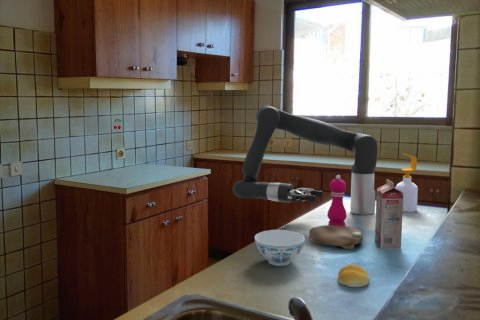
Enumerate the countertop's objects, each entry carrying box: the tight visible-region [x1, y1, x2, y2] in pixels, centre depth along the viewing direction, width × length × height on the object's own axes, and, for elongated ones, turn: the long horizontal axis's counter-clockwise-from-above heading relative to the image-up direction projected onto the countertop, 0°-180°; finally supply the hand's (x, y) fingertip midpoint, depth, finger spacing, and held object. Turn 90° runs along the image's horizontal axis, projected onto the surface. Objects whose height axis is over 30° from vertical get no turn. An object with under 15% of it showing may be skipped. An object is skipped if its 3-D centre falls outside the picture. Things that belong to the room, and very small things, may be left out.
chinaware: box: [254, 229, 306, 267], centre depth 138 cm, size 15×15×8 cm
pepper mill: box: [327, 174, 348, 226], centre depth 173 cm, size 7×7×20 cm
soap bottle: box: [395, 153, 419, 213], centre depth 196 cm, size 9×9×25 cm
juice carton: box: [374, 178, 404, 250], centre depth 151 cm, size 7×7×22 cm
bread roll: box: [337, 264, 370, 288], centre depth 124 cm, size 8×9×4 cm
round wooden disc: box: [308, 225, 364, 250], centre depth 157 cm, size 18×18×4 cm
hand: (318, 196), depth 176 cm, fingers open, 8 cm apart
